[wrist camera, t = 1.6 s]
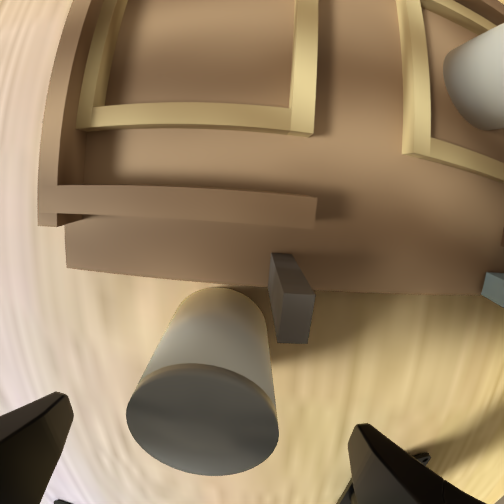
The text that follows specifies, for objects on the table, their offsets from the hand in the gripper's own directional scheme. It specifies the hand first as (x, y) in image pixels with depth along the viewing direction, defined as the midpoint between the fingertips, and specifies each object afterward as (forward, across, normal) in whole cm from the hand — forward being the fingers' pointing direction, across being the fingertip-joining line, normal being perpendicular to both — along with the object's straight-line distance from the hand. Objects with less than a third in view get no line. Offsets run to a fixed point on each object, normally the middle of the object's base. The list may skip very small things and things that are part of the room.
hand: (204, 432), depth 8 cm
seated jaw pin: (+5, -11, -13) cm, 18 cm away
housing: (+6, -8, -11) cm, 15 cm away
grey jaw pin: (+6, 0, 0) cm, 6 cm away
